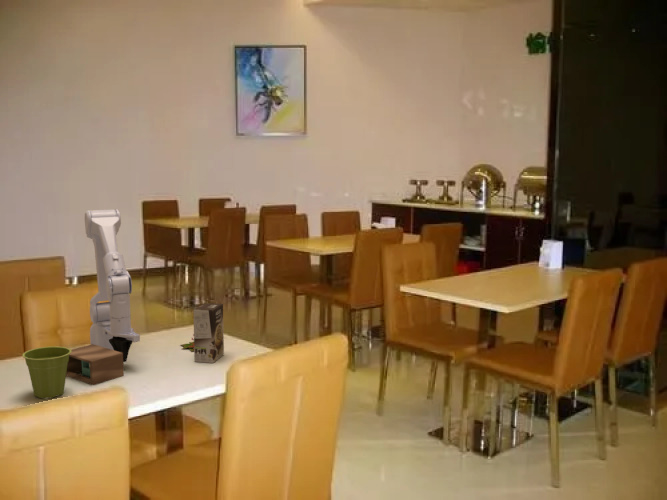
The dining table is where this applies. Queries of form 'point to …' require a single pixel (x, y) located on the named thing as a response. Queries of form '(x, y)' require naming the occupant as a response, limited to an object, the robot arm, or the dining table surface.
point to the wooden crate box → (95, 364)
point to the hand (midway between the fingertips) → (122, 361)
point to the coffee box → (208, 332)
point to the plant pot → (47, 370)
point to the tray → (85, 369)
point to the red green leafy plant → (189, 345)
